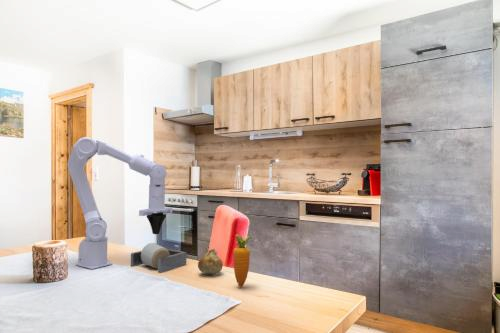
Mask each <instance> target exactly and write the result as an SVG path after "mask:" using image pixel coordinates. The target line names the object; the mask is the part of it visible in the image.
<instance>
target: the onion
mask: <svg viewBox="0 0 500 333" xmlns="http://www.w3.org/2000/svg"><path fill="white" fill-rule="evenodd" d="M223 267H224V265H223V260H222V259H221V258H220V257H219V256H218V251H217V250H215V248H211V249H210V250H209V251H207V253H205V255H203V256H202V257H201V258H200V259H199V260H198V262H197V268H198V270H199V271H200V273H202V274H204V275H205V276H215V275H217V274H219V273H220V272H221V271H222V269H223Z"/></svg>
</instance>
